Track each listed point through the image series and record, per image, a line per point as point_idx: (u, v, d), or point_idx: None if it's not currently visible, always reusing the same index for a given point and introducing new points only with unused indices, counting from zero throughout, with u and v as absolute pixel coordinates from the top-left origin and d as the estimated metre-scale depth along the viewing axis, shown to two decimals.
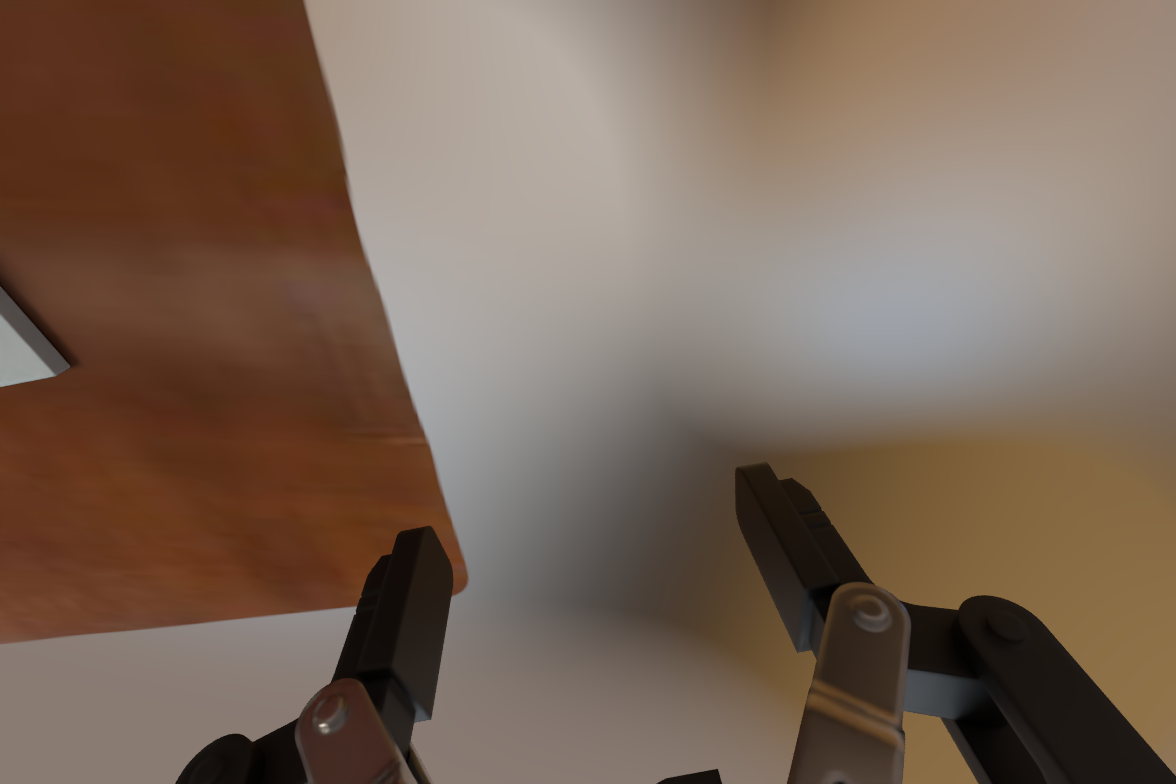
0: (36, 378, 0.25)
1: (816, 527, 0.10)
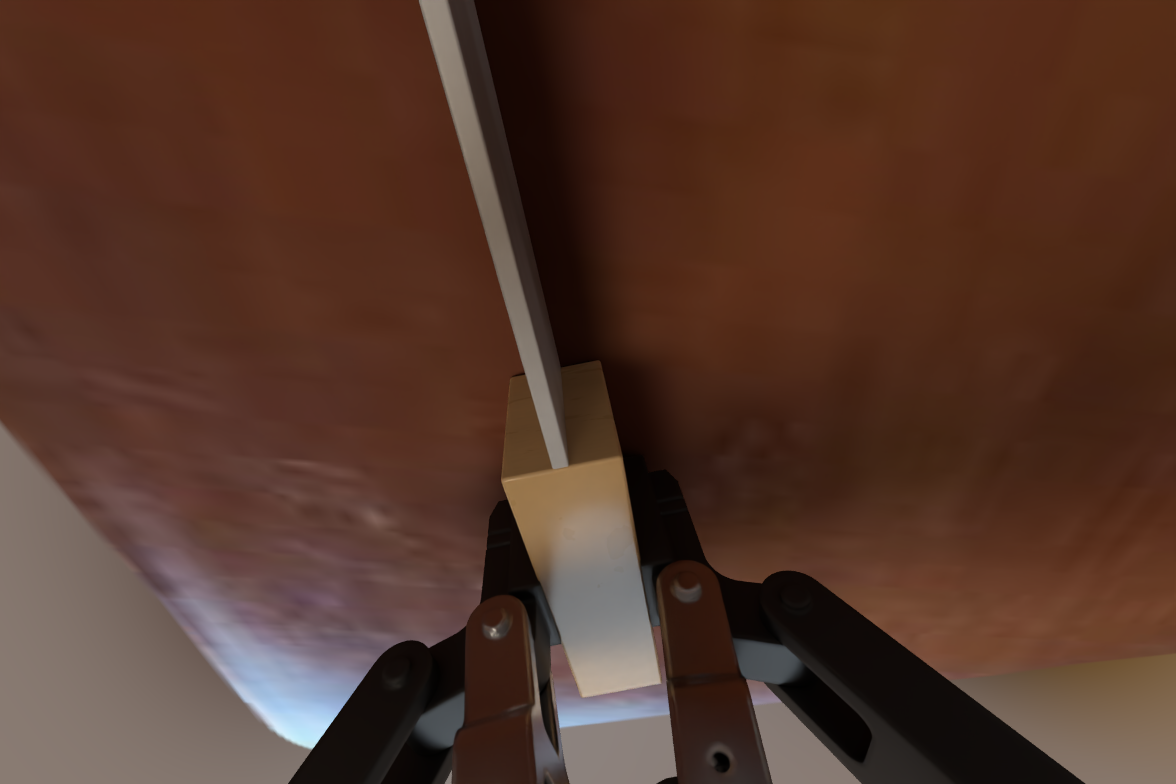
0: None
1: (673, 513, 0.11)
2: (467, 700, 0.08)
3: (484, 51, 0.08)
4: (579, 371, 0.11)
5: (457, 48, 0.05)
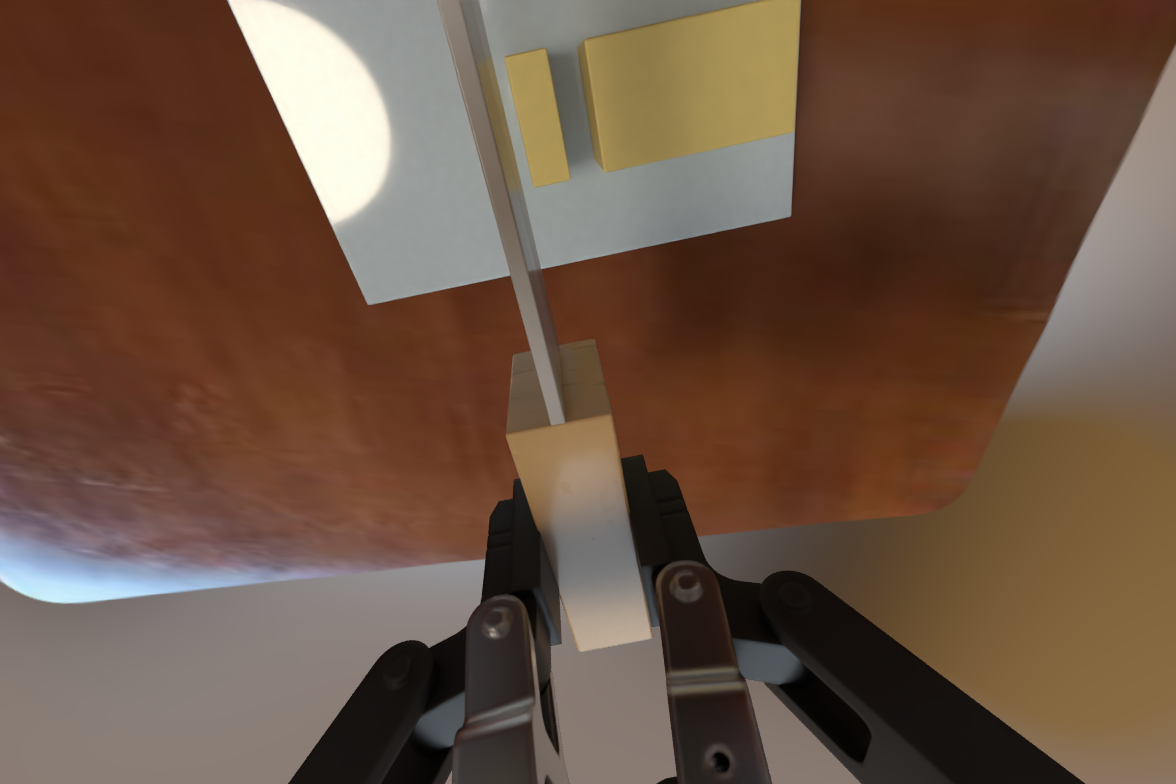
0: (770, 219, 0.22)
1: (673, 513, 0.11)
2: (467, 700, 0.08)
3: (491, 62, 0.09)
4: (575, 348, 0.12)
5: (472, 60, 0.06)
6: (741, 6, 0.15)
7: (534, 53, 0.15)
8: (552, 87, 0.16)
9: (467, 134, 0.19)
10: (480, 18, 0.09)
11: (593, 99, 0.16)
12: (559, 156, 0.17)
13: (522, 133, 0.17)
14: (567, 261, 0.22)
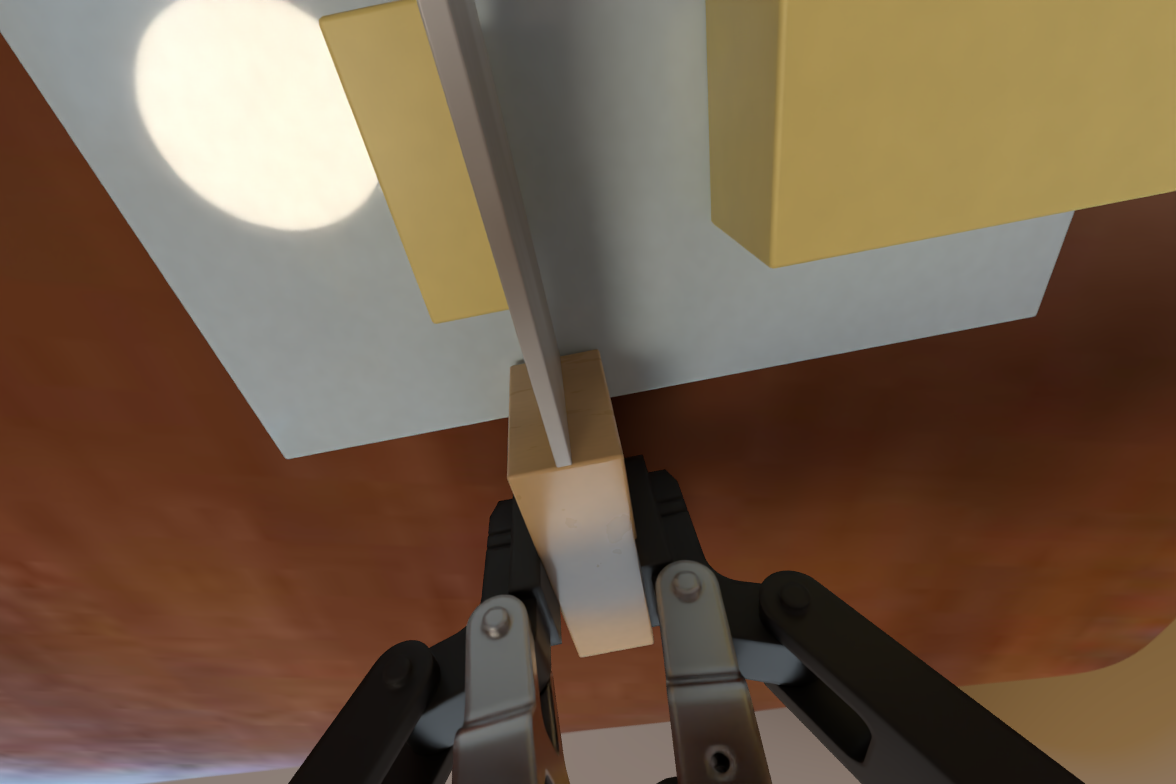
0: (1001, 320, 0.13)
1: (673, 513, 0.11)
2: (467, 700, 0.08)
3: (483, 43, 0.08)
4: (578, 361, 0.11)
5: (465, 77, 0.05)
6: None
7: (399, 9, 0.06)
8: None
9: None
10: None
11: (777, 106, 0.07)
12: (487, 261, 0.07)
13: (392, 211, 0.07)
14: (640, 390, 0.13)
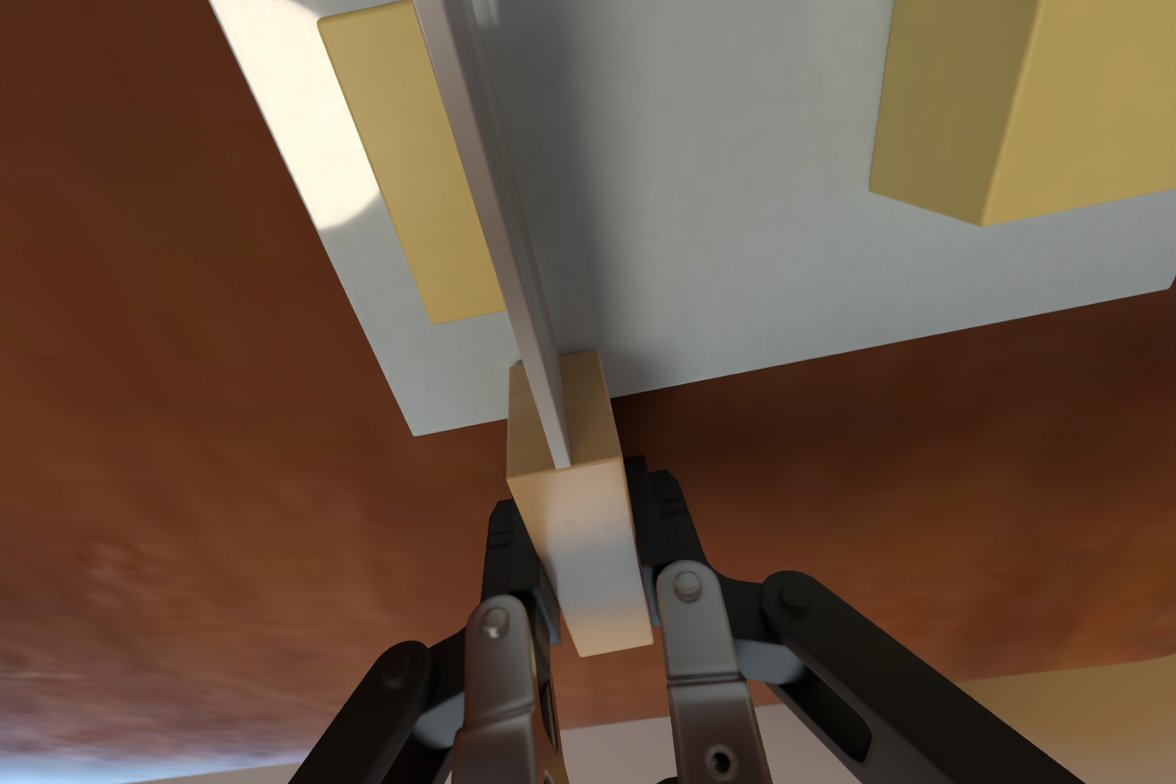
0: (1134, 293, 0.12)
1: (674, 513, 0.11)
2: (467, 700, 0.08)
3: (480, 43, 0.07)
4: (578, 361, 0.11)
5: (461, 80, 0.05)
6: None
7: (397, 11, 0.06)
8: None
9: (635, 138, 0.09)
10: None
11: (1026, 55, 0.07)
12: (485, 262, 0.07)
13: (390, 212, 0.07)
14: (769, 365, 0.13)
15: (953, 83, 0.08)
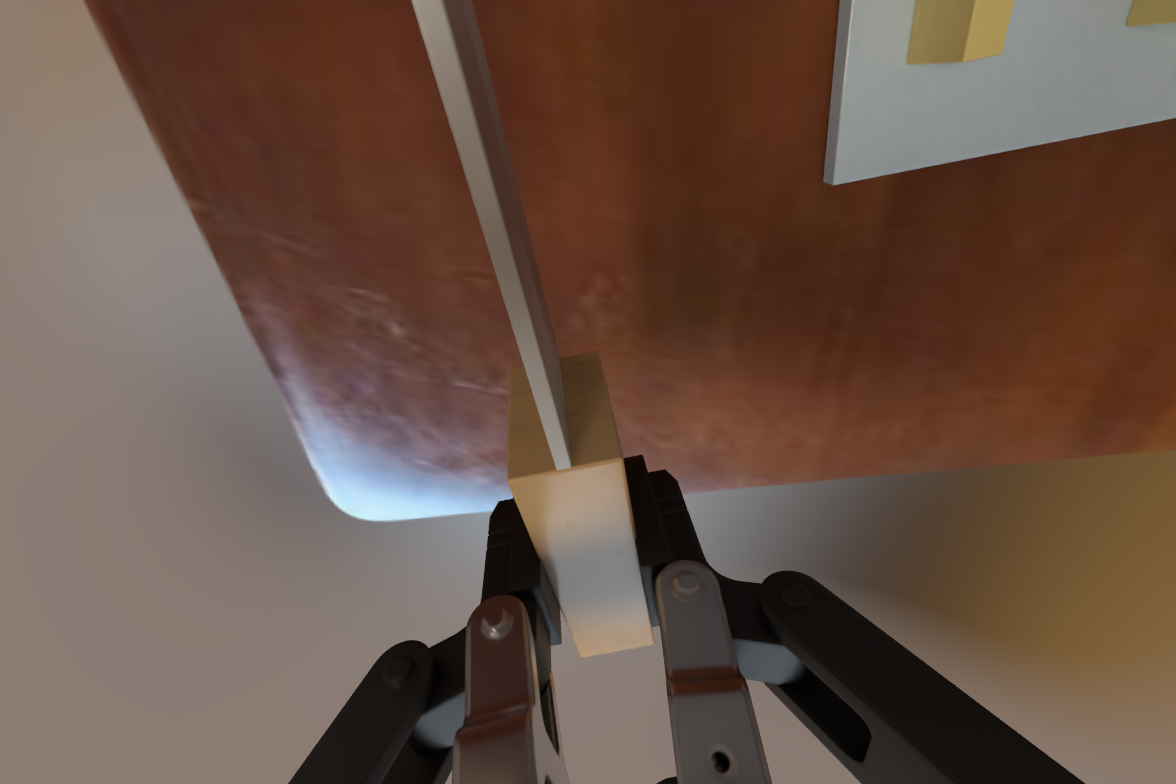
0: None
1: (673, 513, 0.11)
2: (467, 700, 0.08)
3: (481, 46, 0.07)
4: (578, 363, 0.11)
5: (463, 84, 0.05)
6: None
7: None
8: None
9: None
10: None
11: None
12: (1002, 27, 0.17)
13: None
14: (1042, 142, 0.22)
15: None
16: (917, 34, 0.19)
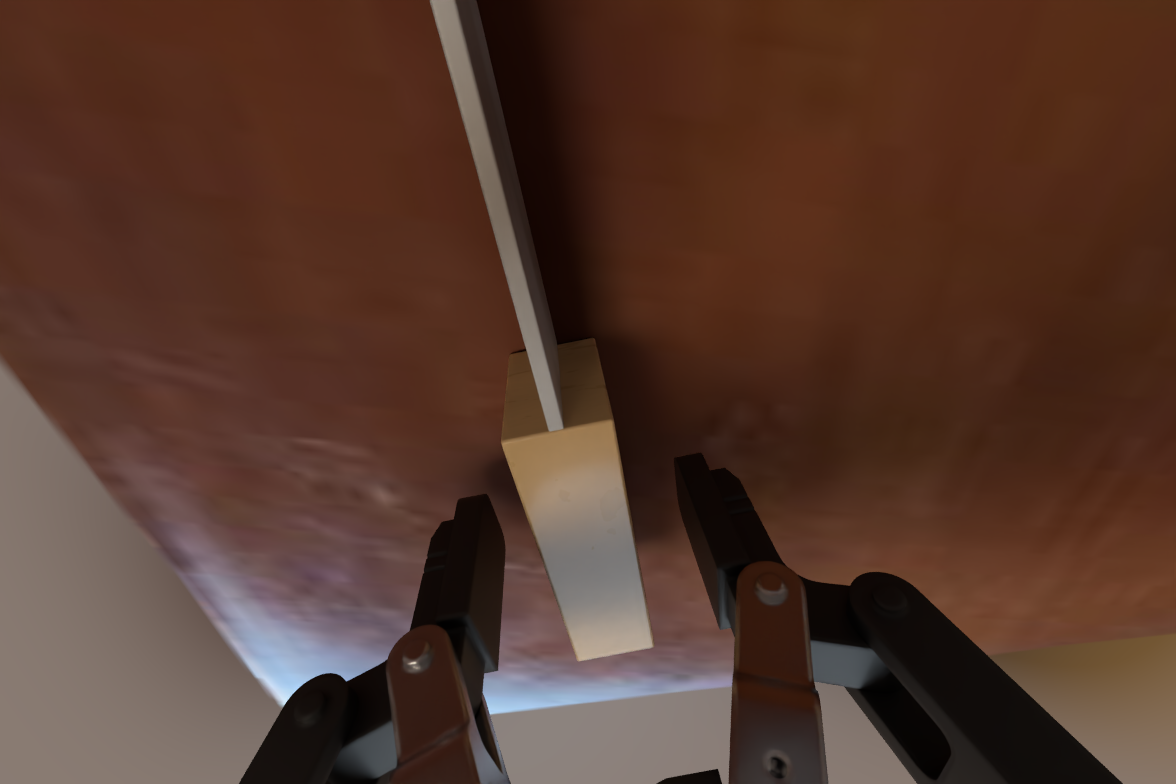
0: None
1: (740, 512, 0.11)
2: (398, 740, 0.08)
3: (485, 43, 0.09)
4: (574, 347, 0.12)
5: (461, 37, 0.06)
6: None
7: None
8: None
9: None
10: None
11: None
12: None
13: None
14: None
15: None
16: None
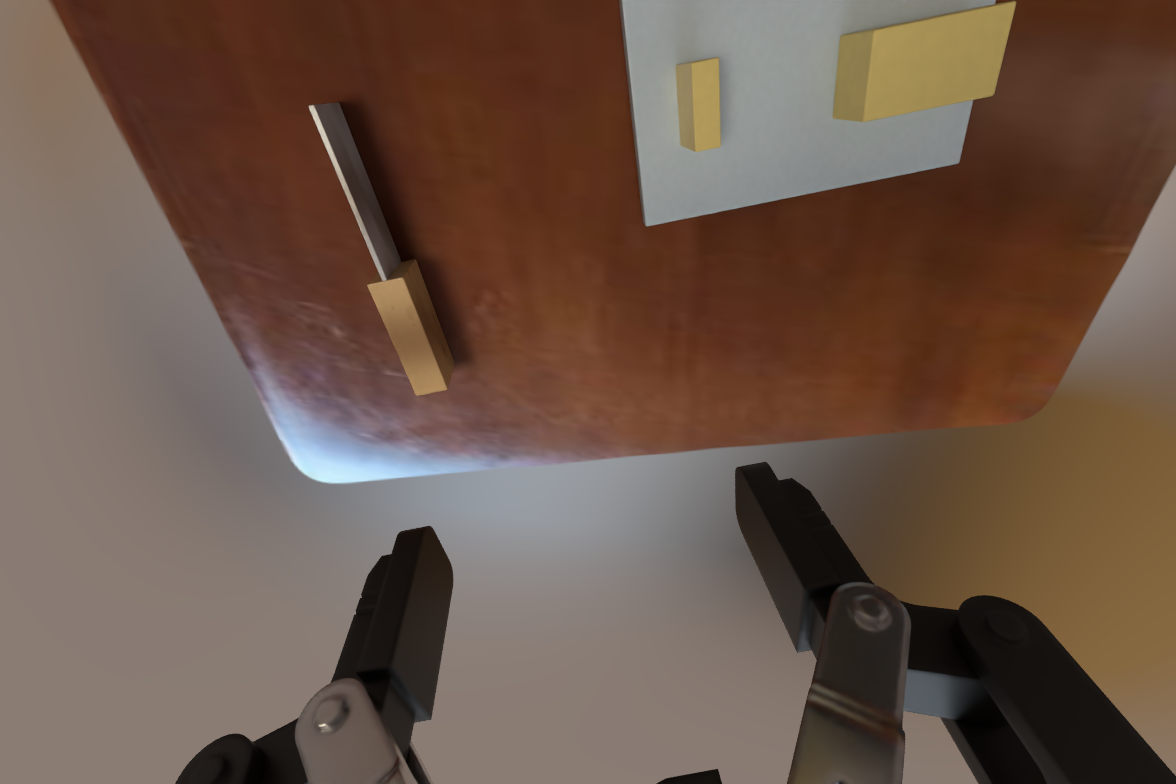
0: (944, 165, 0.30)
1: (816, 527, 0.10)
2: None
3: (359, 158, 0.28)
4: (406, 262, 0.31)
5: (340, 169, 0.25)
6: (977, 9, 0.23)
7: (711, 60, 0.24)
8: (718, 83, 0.24)
9: (750, 97, 0.27)
10: (352, 147, 0.27)
11: (869, 70, 0.24)
12: (716, 130, 0.25)
13: (694, 114, 0.25)
14: (794, 195, 0.30)
15: (854, 78, 0.26)
16: (681, 127, 0.27)
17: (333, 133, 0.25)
